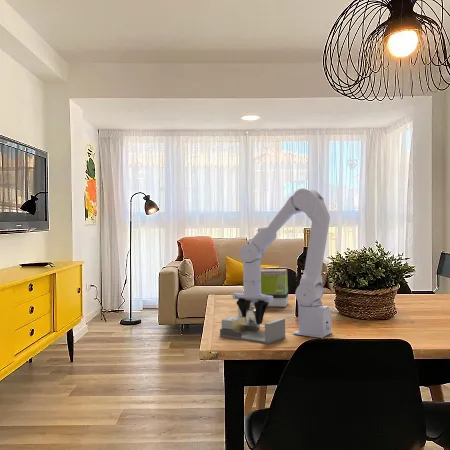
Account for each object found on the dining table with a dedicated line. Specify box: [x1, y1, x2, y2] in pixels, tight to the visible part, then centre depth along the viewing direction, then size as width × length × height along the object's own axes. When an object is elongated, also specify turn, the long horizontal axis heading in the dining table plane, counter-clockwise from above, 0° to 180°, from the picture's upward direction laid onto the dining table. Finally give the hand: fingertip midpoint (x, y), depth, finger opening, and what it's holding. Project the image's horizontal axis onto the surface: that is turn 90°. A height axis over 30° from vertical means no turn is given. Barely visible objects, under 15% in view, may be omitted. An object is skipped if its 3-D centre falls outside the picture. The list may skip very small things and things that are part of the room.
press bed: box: [219, 317, 286, 345], centre depth 139 cm, size 18×9×6 cm, turn 53°
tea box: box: [261, 268, 289, 308], centre depth 193 cm, size 15×10×15 cm
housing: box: [246, 306, 261, 330], centre depth 151 cm, size 4×4×7 cm
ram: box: [221, 315, 246, 332], centre depth 143 cm, size 4×7×4 cm, turn 143°
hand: (252, 322), depth 151 cm, fingers closed on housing, 4 cm apart
